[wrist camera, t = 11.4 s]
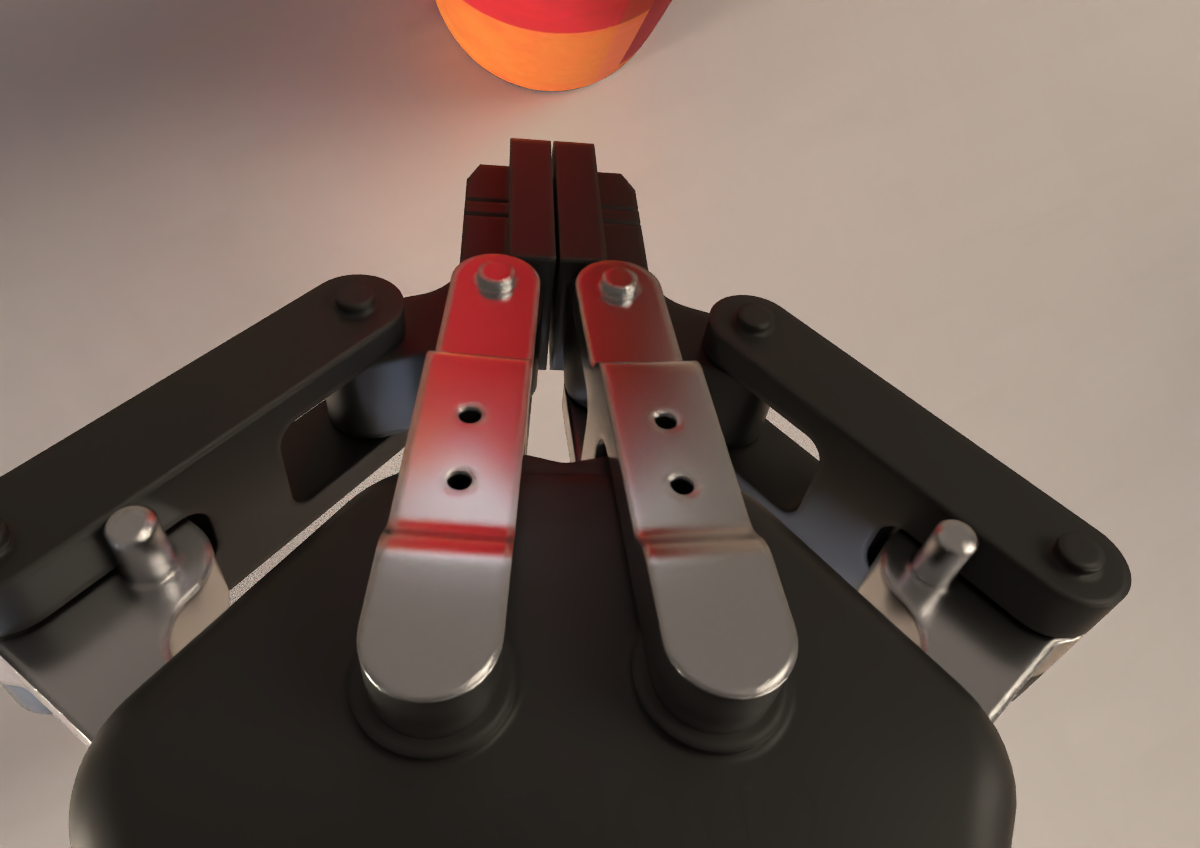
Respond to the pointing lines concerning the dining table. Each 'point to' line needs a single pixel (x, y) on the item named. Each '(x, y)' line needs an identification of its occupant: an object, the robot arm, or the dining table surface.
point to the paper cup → (551, 37)
